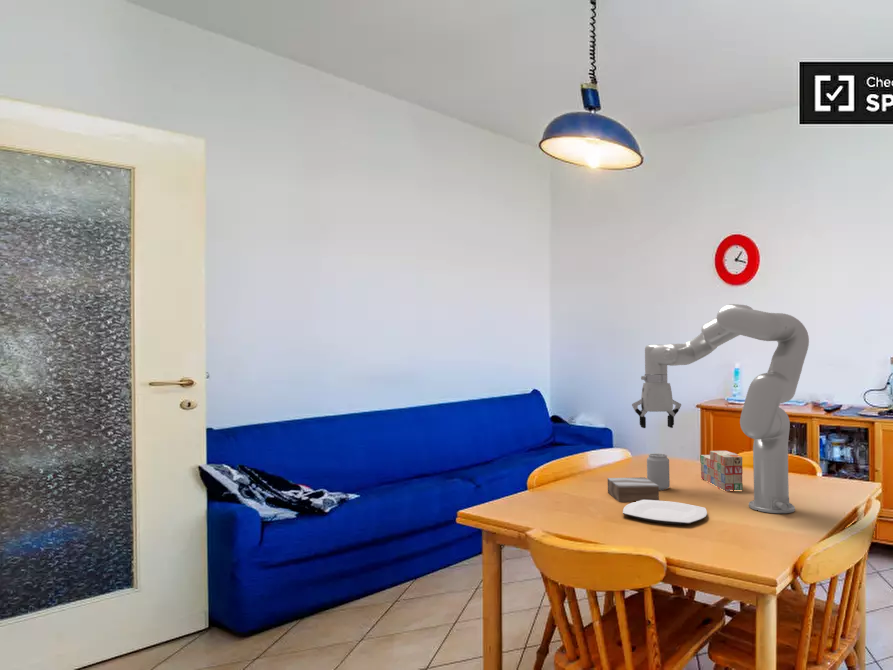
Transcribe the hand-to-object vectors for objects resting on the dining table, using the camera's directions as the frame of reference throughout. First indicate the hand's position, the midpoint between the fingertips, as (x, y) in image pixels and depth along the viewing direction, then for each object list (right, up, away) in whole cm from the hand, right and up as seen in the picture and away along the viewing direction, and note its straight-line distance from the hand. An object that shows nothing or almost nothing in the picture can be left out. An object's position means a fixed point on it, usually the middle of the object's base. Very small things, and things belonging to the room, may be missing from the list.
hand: (656, 427), depth 222 cm
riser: (-12, -21, -12) cm, 28 cm away
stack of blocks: (+24, -22, +3) cm, 33 cm away
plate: (-10, -22, -36) cm, 43 cm away
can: (0, -22, -1) cm, 22 cm away
